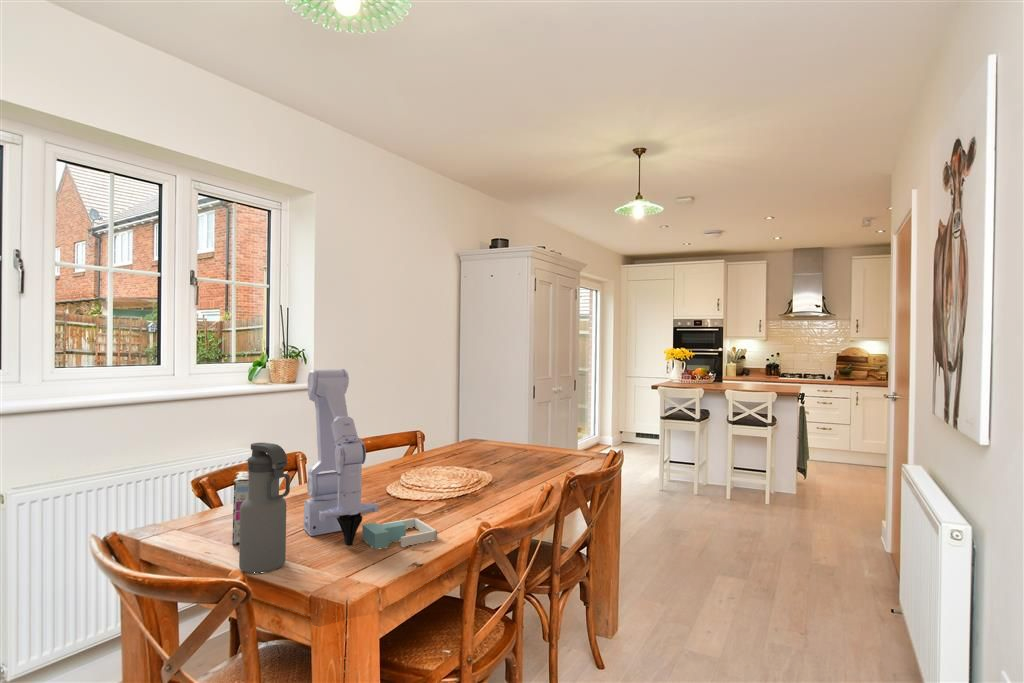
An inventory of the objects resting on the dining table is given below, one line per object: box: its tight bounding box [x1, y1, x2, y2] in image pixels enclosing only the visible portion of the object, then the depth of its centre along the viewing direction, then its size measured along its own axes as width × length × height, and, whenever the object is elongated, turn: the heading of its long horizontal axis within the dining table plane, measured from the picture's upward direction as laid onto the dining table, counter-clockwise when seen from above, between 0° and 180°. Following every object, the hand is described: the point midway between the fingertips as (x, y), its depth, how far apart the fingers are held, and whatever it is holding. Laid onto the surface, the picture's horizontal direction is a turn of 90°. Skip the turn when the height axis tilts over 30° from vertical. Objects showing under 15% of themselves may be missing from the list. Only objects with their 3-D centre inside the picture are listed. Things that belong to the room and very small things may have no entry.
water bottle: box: [238, 442, 291, 574], centre depth 131 cm, size 10×10×28 cm
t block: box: [361, 520, 407, 550], centre depth 148 cm, size 10×9×4 cm
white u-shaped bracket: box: [383, 517, 438, 548], centre depth 152 cm, size 10×13×2 cm
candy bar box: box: [231, 470, 248, 546], centre depth 149 cm, size 11×5×16 cm, turn 21°
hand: (348, 544), depth 142 cm, fingers closed
